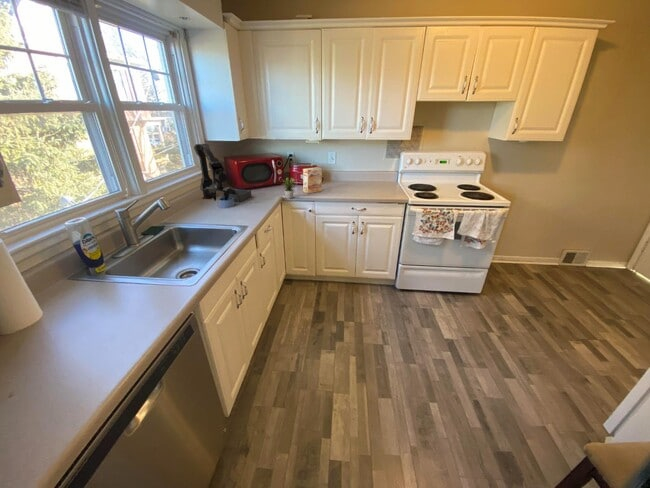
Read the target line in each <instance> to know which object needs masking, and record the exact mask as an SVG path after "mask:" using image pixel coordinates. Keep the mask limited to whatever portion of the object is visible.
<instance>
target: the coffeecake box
mask: <svg viewBox="0 0 650 488" xmlns="http://www.w3.org/2000/svg"><path fill="white" fill-rule="evenodd" d="M322 182H323V168H322V167H317V166H316V167H306V168H302V183H303V184H302V186H303V187H302V188H303V189H302V190H303V191H302V192H303V193H304V194H309V195H310V194H313V193H320V192H322V191H323V189H322V188H323V187H322V186H323V185H322V184H323V183H322Z"/></svg>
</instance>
